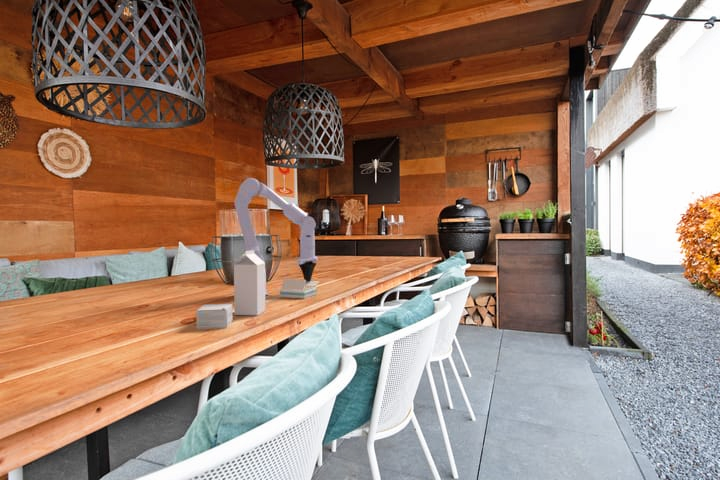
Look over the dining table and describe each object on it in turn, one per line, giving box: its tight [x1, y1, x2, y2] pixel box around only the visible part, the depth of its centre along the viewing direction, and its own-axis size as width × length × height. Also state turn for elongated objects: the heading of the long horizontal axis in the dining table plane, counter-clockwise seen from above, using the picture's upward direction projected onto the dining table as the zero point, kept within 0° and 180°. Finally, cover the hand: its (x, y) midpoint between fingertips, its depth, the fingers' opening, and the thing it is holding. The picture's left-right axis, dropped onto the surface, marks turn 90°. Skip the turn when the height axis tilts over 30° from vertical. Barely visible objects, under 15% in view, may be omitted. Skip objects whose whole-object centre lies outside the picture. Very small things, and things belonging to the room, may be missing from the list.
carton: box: [279, 286, 318, 300], centre depth 151 cm, size 10×10×3 cm
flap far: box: [304, 280, 320, 288], centre depth 157 cm, size 1×9×4 cm
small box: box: [195, 303, 234, 330], centre depth 106 cm, size 8×8×5 cm
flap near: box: [280, 278, 306, 290], centre depth 147 cm, size 1×9×4 cm, turn 71°
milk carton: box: [233, 250, 266, 316], centre depth 120 cm, size 7×7×19 cm
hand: (307, 281), depth 158 cm, fingers closed
